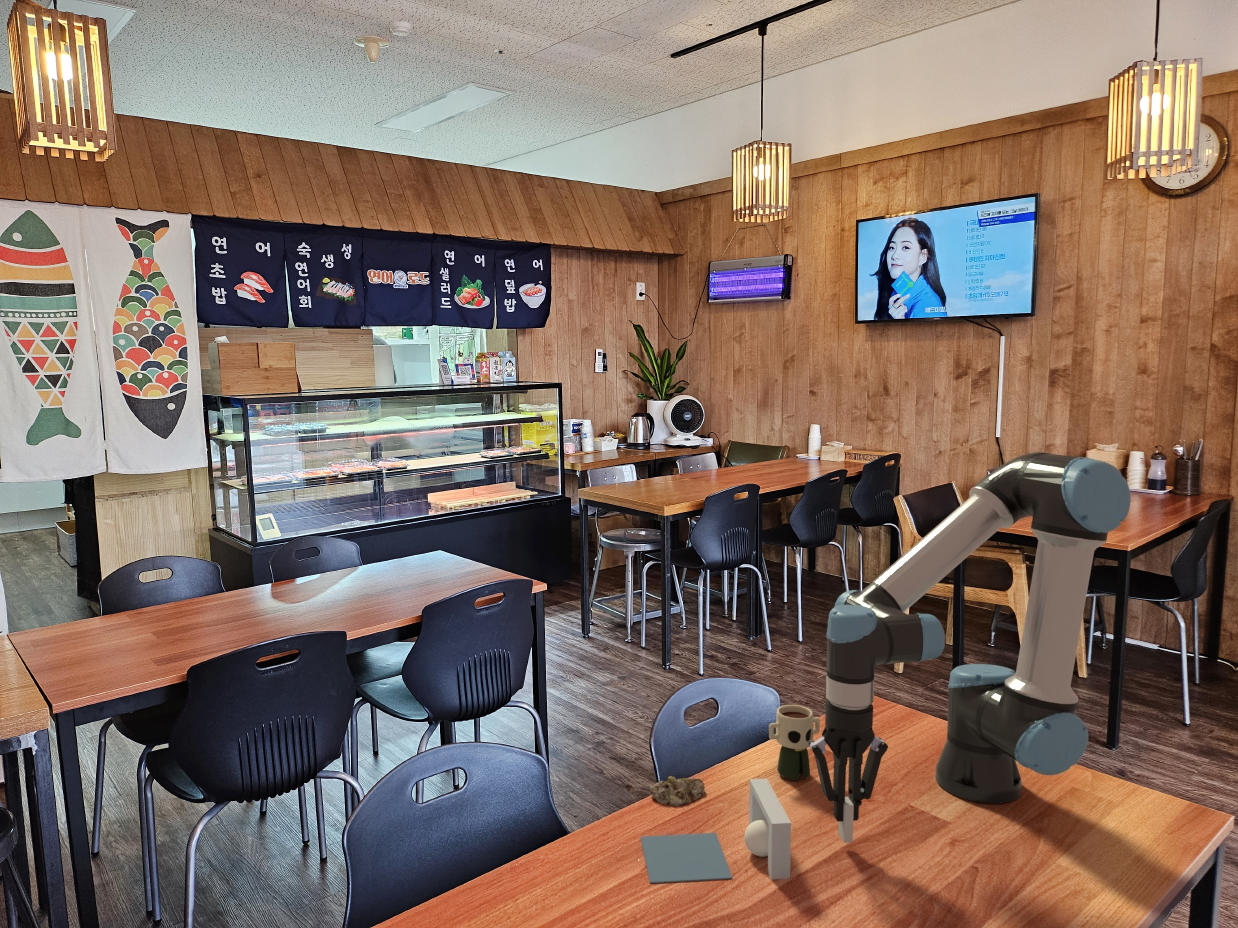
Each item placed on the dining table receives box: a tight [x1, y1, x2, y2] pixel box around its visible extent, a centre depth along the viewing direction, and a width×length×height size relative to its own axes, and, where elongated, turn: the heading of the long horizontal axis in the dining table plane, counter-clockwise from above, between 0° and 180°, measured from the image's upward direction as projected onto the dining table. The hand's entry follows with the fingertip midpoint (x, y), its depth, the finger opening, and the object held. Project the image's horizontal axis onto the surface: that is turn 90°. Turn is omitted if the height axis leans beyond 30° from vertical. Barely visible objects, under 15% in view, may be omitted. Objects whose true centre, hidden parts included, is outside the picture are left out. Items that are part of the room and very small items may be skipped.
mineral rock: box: [649, 775, 706, 807], centre depth 160 cm, size 11×4×8 cm
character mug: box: [768, 704, 821, 781], centre depth 166 cm, size 11×7×13 cm, turn 107°
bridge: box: [748, 778, 792, 880], centre depth 140 cm, size 3×14×9 cm, turn 5°
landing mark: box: [639, 832, 733, 884], centre depth 139 cm, size 13×13×1 cm
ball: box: [743, 820, 769, 858], centre depth 140 cm, size 6×6×6 cm
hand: (845, 837), depth 141 cm, fingers closed
